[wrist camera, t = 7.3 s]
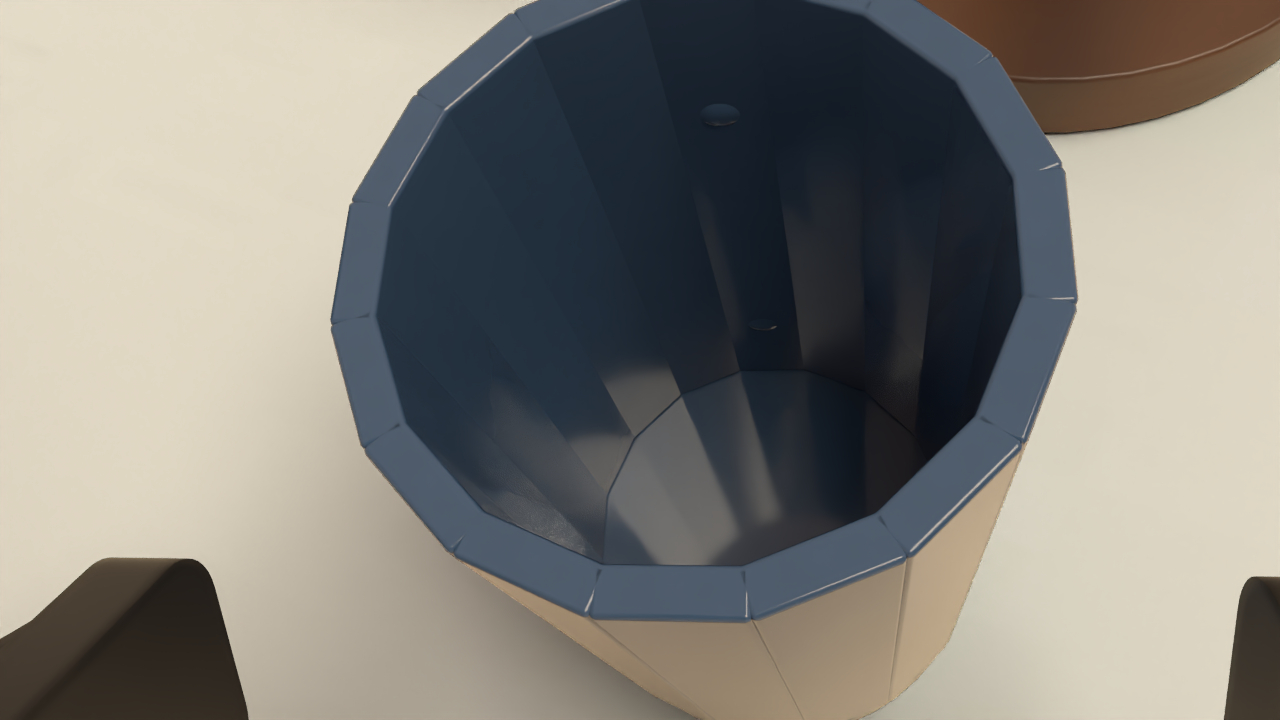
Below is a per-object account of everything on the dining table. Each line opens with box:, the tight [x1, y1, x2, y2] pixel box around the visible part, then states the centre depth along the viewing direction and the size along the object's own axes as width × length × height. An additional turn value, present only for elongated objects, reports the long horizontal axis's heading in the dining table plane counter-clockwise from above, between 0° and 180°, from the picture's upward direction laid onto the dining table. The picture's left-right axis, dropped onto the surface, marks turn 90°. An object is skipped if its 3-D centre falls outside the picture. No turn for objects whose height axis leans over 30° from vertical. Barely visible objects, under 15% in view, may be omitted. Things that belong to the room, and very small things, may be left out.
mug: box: [331, 0, 1078, 720], centre depth 14 cm, size 10×6×10 cm, turn 177°
